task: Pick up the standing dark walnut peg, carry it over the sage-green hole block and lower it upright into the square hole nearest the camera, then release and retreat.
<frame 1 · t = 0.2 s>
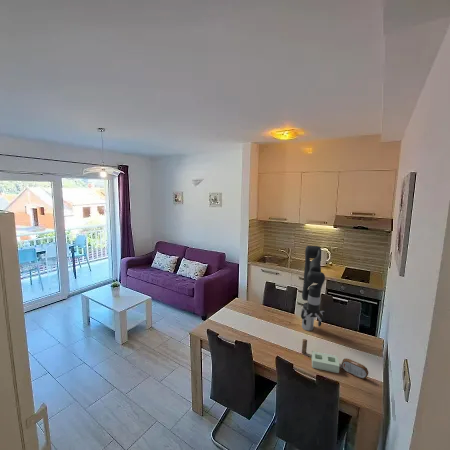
hand: (312, 325, 162), 28 cm above the table, fingers open, 8 cm apart
peg: (303, 353, 176), on the table
hole block: (324, 364, 165), on the table
tin: (353, 374, 158), on the table
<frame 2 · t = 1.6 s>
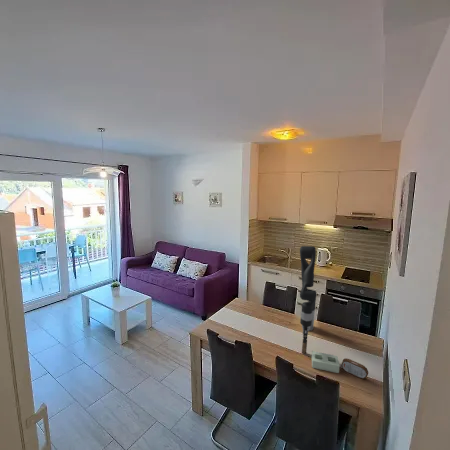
hand: (304, 339, 174), 11 cm above the table, fingers open, 8 cm apart
nothing on the table moved.
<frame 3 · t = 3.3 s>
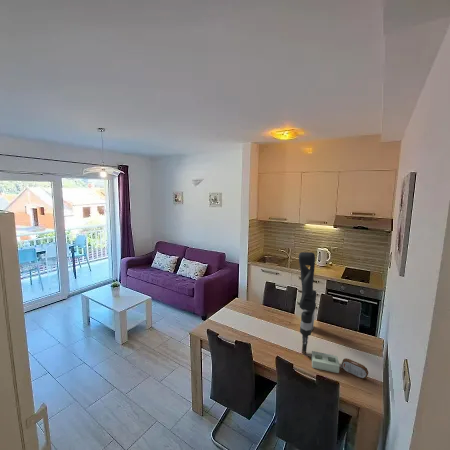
hand: (304, 349, 176), 3 cm above the table, fingers closed on peg, 3 cm apart
peg: (303, 353, 176), on the table, touching gripper
everything else where it was.
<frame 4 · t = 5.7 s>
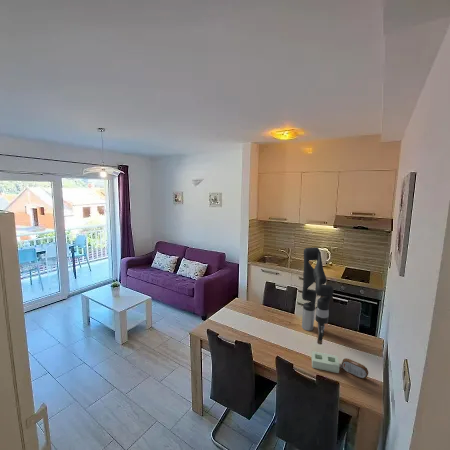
hand: (320, 338, 163), 18 cm above the table, fingers closed on peg, 3 cm apart
peg: (319, 343, 164), point 15 cm above the table, touching gripper
everything else where it was.
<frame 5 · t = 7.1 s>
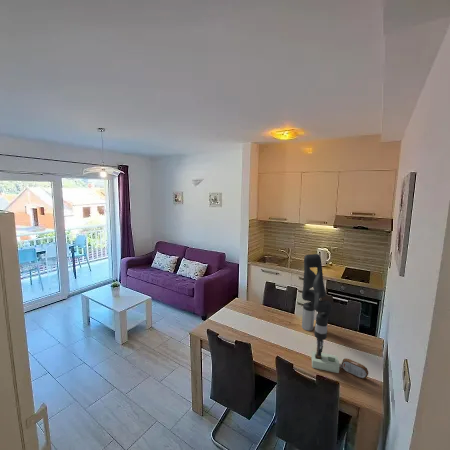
hand: (318, 353, 165), 7 cm above the table, fingers closed on peg, 3 cm apart
peg: (318, 358, 166), point 4 cm above the table, touching gripper
everything else where it was.
when the fingers open (6 cm above the table, at t = 8.1 s): peg drops 2 cm, resting in hole block.
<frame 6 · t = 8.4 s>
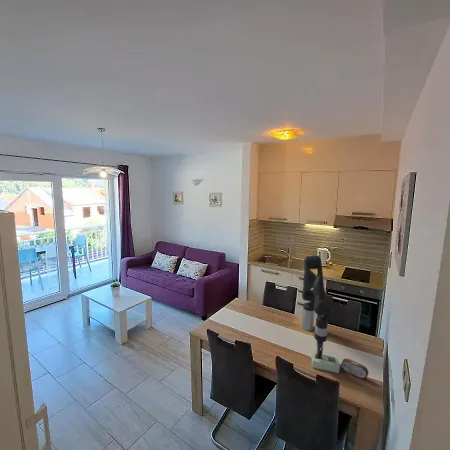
hand: (318, 355, 165), 6 cm above the table, fingers open, 5 cm apart
peg: (318, 363, 166), resting in hole block
everything else where it was.
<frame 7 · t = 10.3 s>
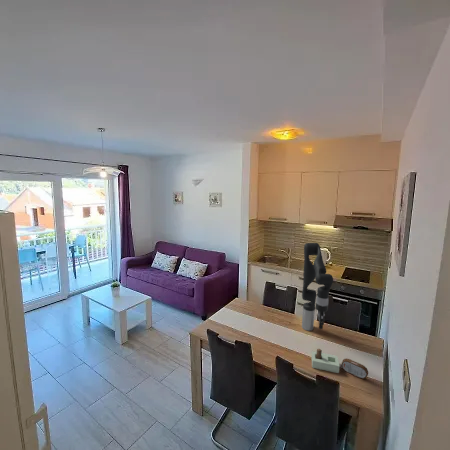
hand: (320, 324, 168), 25 cm above the table, fingers open, 8 cm apart
nothing on the table moved.
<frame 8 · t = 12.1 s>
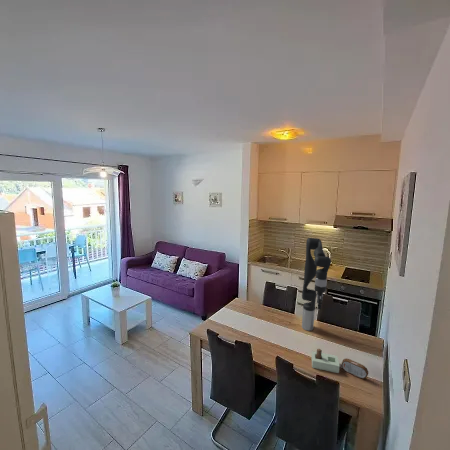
hand: (318, 306, 176), 33 cm above the table, fingers open, 8 cm apart
nothing on the table moved.
at the end: peg 0.1 cm from the target spot on the hole block, point 0.0 cm above the hole block's base; peg tilted 0°; the gripper is holding nothing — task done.
